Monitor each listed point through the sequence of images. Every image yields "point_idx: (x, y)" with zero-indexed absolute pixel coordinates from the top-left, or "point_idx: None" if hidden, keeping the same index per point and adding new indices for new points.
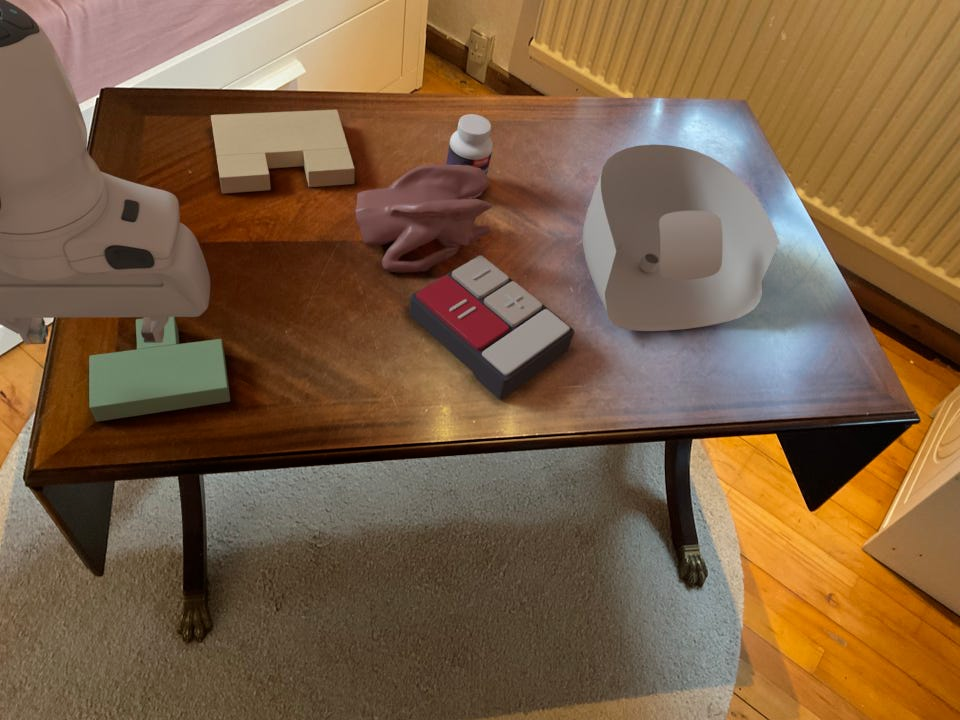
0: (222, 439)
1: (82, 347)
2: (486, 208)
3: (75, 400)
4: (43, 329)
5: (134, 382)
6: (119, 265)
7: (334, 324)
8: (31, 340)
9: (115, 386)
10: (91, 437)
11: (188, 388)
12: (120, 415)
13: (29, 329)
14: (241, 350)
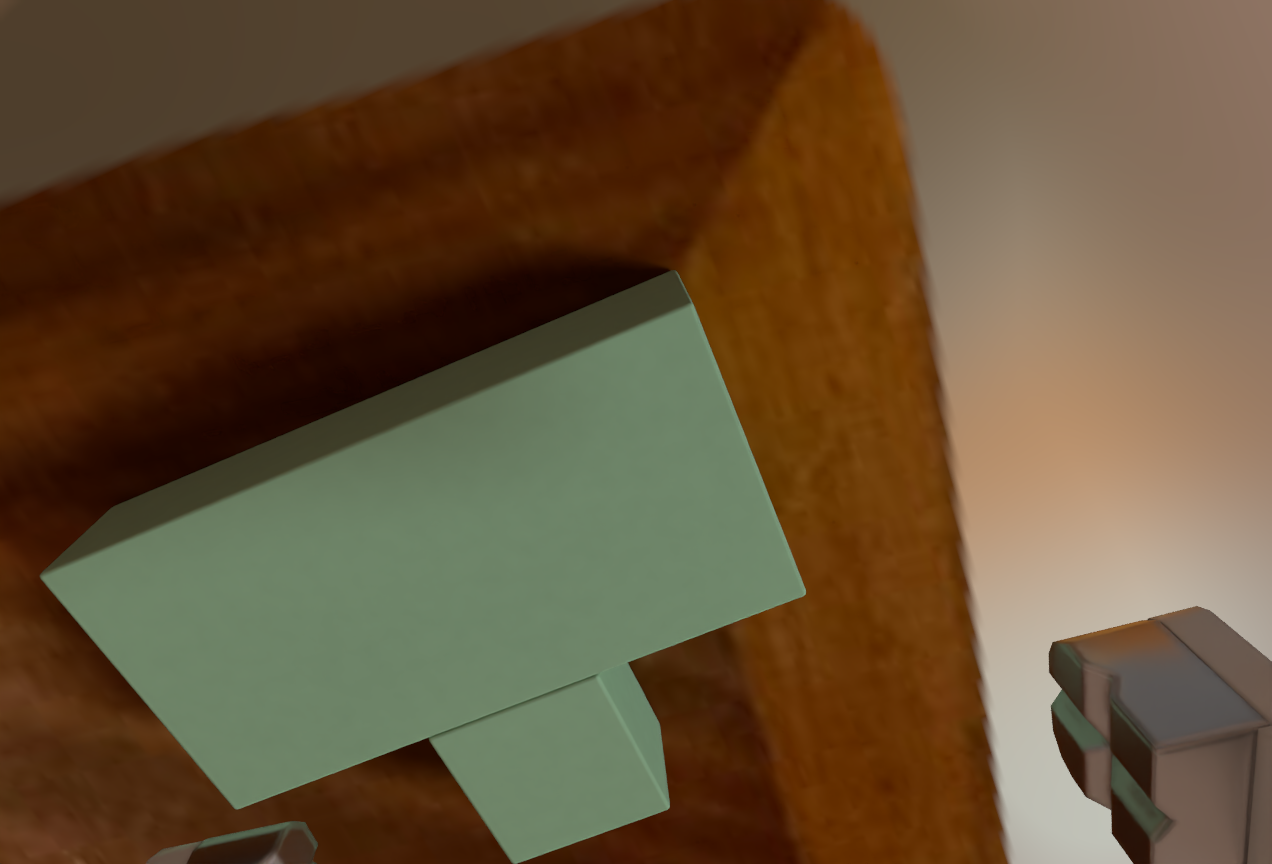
0: (24, 296)
1: (872, 618)
2: None
3: (812, 364)
4: (1105, 767)
5: (523, 500)
6: None
7: None
8: (1178, 656)
9: (610, 457)
10: (664, 176)
11: (234, 527)
12: (565, 320)
13: (1246, 770)
14: None
